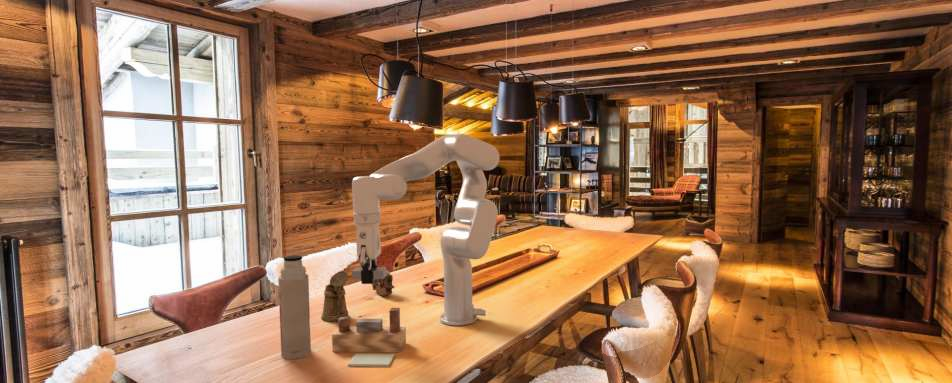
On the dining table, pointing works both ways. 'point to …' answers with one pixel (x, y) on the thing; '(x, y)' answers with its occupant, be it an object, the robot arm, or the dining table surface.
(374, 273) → the lever cap
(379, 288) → the wooden carving
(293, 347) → the thermos bottle
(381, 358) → the felt mat
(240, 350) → the dining table surface
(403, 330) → the body
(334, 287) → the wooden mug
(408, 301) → the dining table surface
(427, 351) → the dining table surface
